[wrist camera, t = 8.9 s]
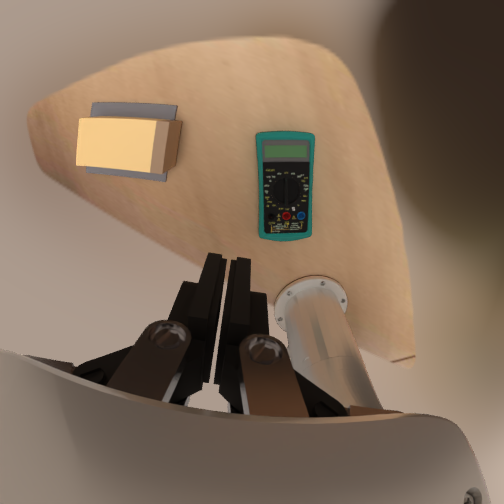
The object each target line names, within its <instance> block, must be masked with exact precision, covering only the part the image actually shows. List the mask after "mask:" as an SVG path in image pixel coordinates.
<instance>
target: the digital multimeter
mask: <svg viewBox="0 0 504 504" xmlns="http://www.w3.org/2000/svg"><path fill="white" fill-rule="evenodd" d="M309 144H310V145H309ZM256 146H257V159H258V176H259V237H260V238H262V239H268V240H273V241H293V240H299V239H303V238H307V237H310V236H311V235H312V185H313V163H314V146H315V136H314V135H313V134H311V133H306V132H296V131H271V132H260V133H257V134H256ZM275 181H276V182H275ZM272 233H276V234H272Z"/></svg>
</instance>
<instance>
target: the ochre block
mask: <svg viewBox="0 0 504 504" xmlns="http://www.w3.org/2000/svg"><path fill="white" fill-rule="evenodd" d="M181 125H182V121H176V120H165V119H154V118H139V117H117V116H98V117H86V118H80V119H79V128H78V140H77V156H76V165H79V166H91V167H103V168H113V169H122V170H131V171H140V172H148V173H156V174H163V173H165V172H166V171H168V170H169V169H171V168H172V167H174V166H175V164H176V157H177V150H178V144H179V137H180V131H181Z"/></svg>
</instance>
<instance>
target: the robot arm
mask: <svg viewBox="0 0 504 504" xmlns="http://www.w3.org/2000/svg"><path fill="white" fill-rule="evenodd" d="M226 263H227V259H224V258H222V255H221V254H215V253H208V255H207V258H206V261H205V264H204V267H203V270H202V273H201V276H200V280H199V283H193V282H188V281H184V282H183V283H182V285H181V288H180V290H179V293H178V295H177V297H176V300H175V302H174V305H173V307H172V310H171V312H170V315H169V318H168V320H159V321H155V322H153V323H151V324H149V325H148V326H147V327H146V328H145V330H144V331H143V333H142V334H141V335H140V337H139V338H138V340H137V341H136V342H135V344H134V345H133V346H130V347H127V348H124V349H122V350H119V351H116V352H113V353H110V354H108V355H105V356H102V357H99V358H96V359H93V360H90V361H87V362H85V363H83V364H81V365H79V366H78V367H75V366H74V364H73V363H70V362H63V361H56V360H51V359H46V358H40V357H34V356H30V355H20V354H17V353H14V352H11V351H7V350H2V349H0V504H491V501H490V498H489V494H488V490H487V487H486V483H485V480H484V477H483V474H482V471H481V469H480V466H479V464H478V461H477V458H476V456H475V454H474V451H473V449H472V447H471V445H470V444H469V441H468V440H467V438H466V436H465V435H464V433H463V432H462V430H461V429H460V428H459V427H458V426H457V424H455V423H454V422H452V421H450V420H448V419H446V418H443V417H439V416H434V415H429V414H418V413H403V412H400V411H394V410H384V409H383V407H382V405H381V403H380V401H379V399H378V397H377V395H376V392H375V390H374V388H373V385H372V383H371V380H370V378H369V375H368V372H367V370H366V367H365V364H364V362H363V359H362V357H361V354H360V351H359V349H358V346H357V344H356V341H355V339H354V336H353V334H352V331H351V329H350V326H349V324H348V321H347V319H346V317H345V312H346V309H347V304H348V302H347V296H346V293H345V291H344V289H343V287H342V286H341V285H340V284H339V283H338V282H336V281H335V280H333V279H331V278H328V277H324V276H309V277H304V278H301V279H298V280H296V281H294V282H292V283H291V284H289V285H288V286H286V287H285V288H284V289H283V290H282V291H281V293H280V294H279V295H278V297H277V299H276V301H275V305H274V314H275V319H276V322H277V324H278V325H279V326H280V328H281V329H283V330H284V331H286V332H287V338H288V344H289V345H288V347H287V349H286V347H285V345H284V344H283V343H282V342H281V341H280V340H278V339H276V338H275V337H272V336H269V324H268V310H267V295H266V293H259V292H252V291H250V275H251V259H247V258H241V257H237V260H231V265H230V271H229V277H228V284H227V291H226V297H225V303H224V311H223V317H222V324H221V331H220V339H219V346H218V354H217V361H216V369H215V378H214V384H218V385H220V386H219V393H220V394H221V395H222V396H223V397H224V398H225V399H226V400H227V401H228V413H226V412H218V411H211V410H205V409H198V408H193V407H187V406H188V403H189V400H190V395H192V394H194V393H196V392H198V391H200V390H202V385H203V382H205V383H209V379H210V371H211V365H212V359H213V352H214V346H215V340H216V333H217V327H218V321H219V314H220V307H221V299H222V292H223V284H224V277H225V270H226ZM290 357H291V360H290Z"/></svg>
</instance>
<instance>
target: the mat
mask: <svg viewBox="0 0 504 504" xmlns="http://www.w3.org/2000/svg"><path fill="white" fill-rule="evenodd" d="M176 111H177V106H175V105H163V104H147V103H92V108H91V116H90V117H98V116H117V117H139V118H154V119H165V120H175V116H176ZM86 173H96V174H106V175H115V176H124V177H132V178H140V179H147V180H155V181H162V182H166V178H167V171H166V172H165V173H163V174H156V173H148V172H140V171H131V170H122V169H113V168H103V167H91V166H86Z"/></svg>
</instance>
